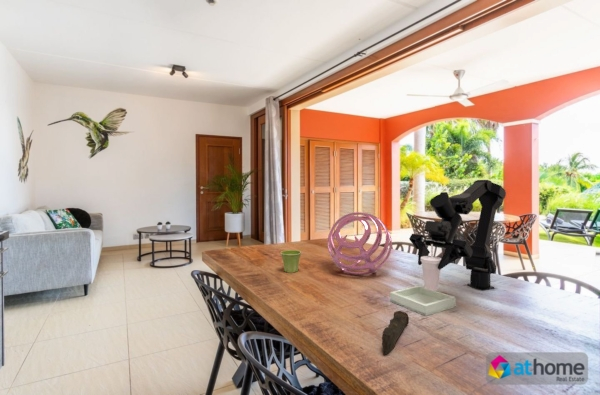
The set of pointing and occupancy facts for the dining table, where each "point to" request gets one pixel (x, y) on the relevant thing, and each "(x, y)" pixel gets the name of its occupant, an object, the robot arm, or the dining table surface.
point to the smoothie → (431, 271)
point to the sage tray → (423, 300)
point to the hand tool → (394, 331)
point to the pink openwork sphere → (358, 244)
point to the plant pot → (291, 260)
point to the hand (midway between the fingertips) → (428, 266)
